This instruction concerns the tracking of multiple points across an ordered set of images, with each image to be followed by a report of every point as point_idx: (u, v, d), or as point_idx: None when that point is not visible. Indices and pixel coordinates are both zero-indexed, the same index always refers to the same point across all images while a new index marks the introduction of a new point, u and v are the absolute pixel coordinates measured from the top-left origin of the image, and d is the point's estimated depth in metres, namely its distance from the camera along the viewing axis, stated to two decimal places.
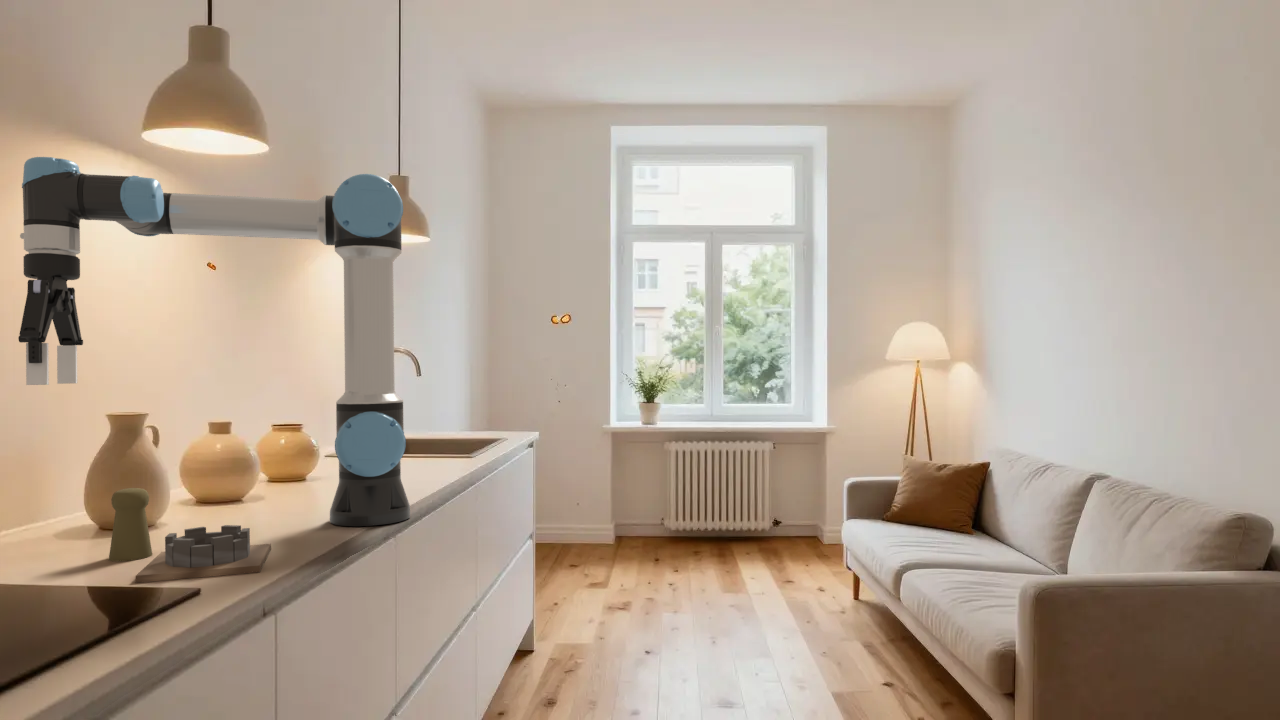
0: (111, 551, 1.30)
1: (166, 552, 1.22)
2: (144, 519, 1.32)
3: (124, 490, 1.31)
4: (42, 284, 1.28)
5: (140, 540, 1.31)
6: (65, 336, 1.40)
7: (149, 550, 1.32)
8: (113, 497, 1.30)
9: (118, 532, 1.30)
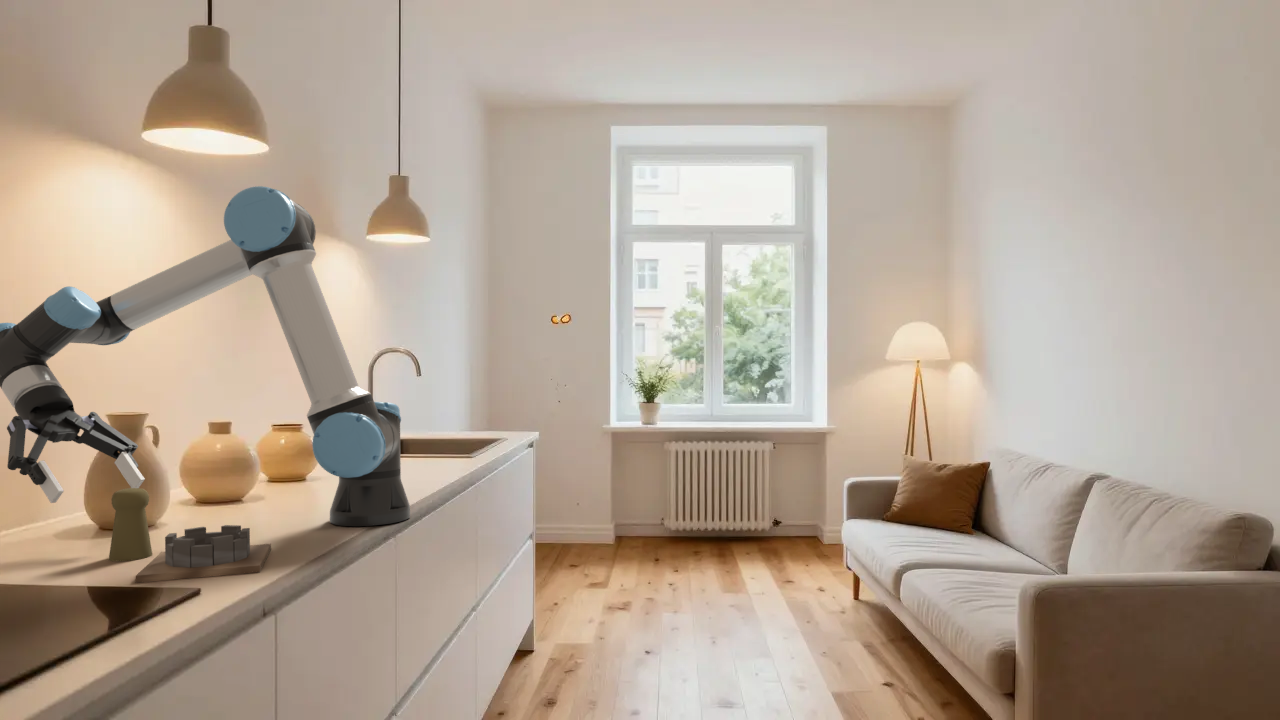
0: (111, 551, 1.30)
1: (166, 552, 1.22)
2: (144, 519, 1.32)
3: (124, 490, 1.31)
4: (13, 421, 1.31)
5: (140, 540, 1.31)
6: (112, 451, 1.42)
7: (149, 550, 1.32)
8: (113, 497, 1.30)
9: (118, 532, 1.30)
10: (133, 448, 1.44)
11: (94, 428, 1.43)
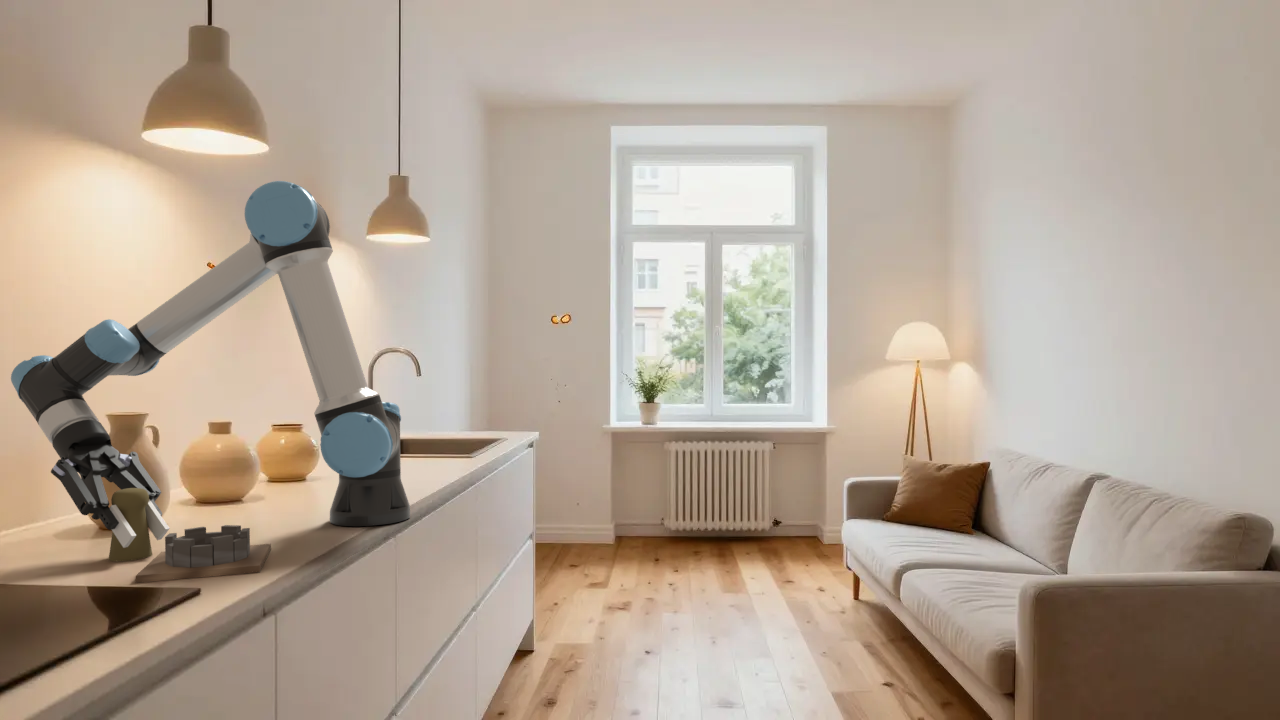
0: (111, 551, 1.30)
1: (166, 552, 1.22)
2: (144, 519, 1.32)
3: (124, 490, 1.31)
4: (59, 466, 1.29)
5: (140, 540, 1.31)
6: None
7: (149, 550, 1.32)
8: (113, 497, 1.30)
9: None
10: None
11: (129, 468, 1.39)
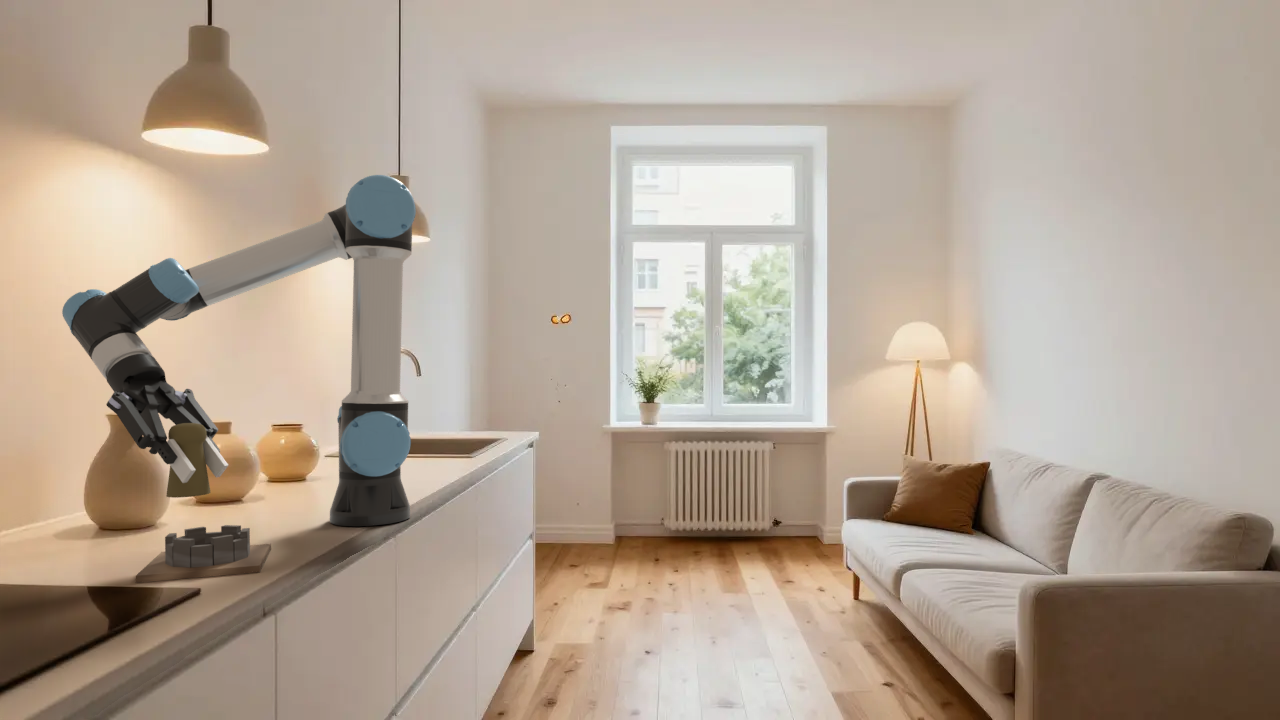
0: (169, 487, 1.24)
1: (166, 552, 1.22)
2: (202, 455, 1.27)
3: (181, 424, 1.25)
4: (114, 398, 1.23)
5: (199, 476, 1.25)
6: None
7: (207, 487, 1.27)
8: (170, 431, 1.25)
9: None
10: None
11: (184, 405, 1.34)
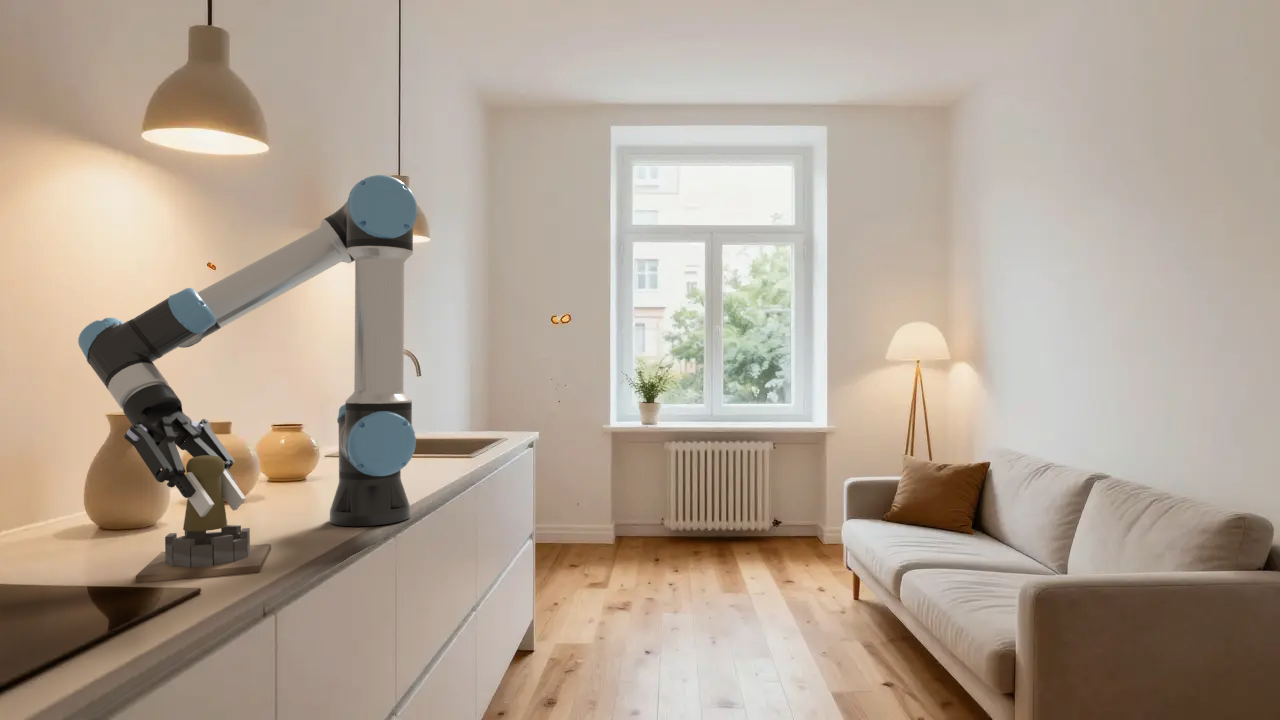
0: (186, 521, 1.23)
1: (166, 552, 1.22)
2: (220, 488, 1.26)
3: (200, 457, 1.25)
4: (133, 430, 1.22)
5: (216, 510, 1.25)
6: None
7: (225, 520, 1.26)
8: (189, 464, 1.24)
9: None
10: None
11: (200, 436, 1.33)
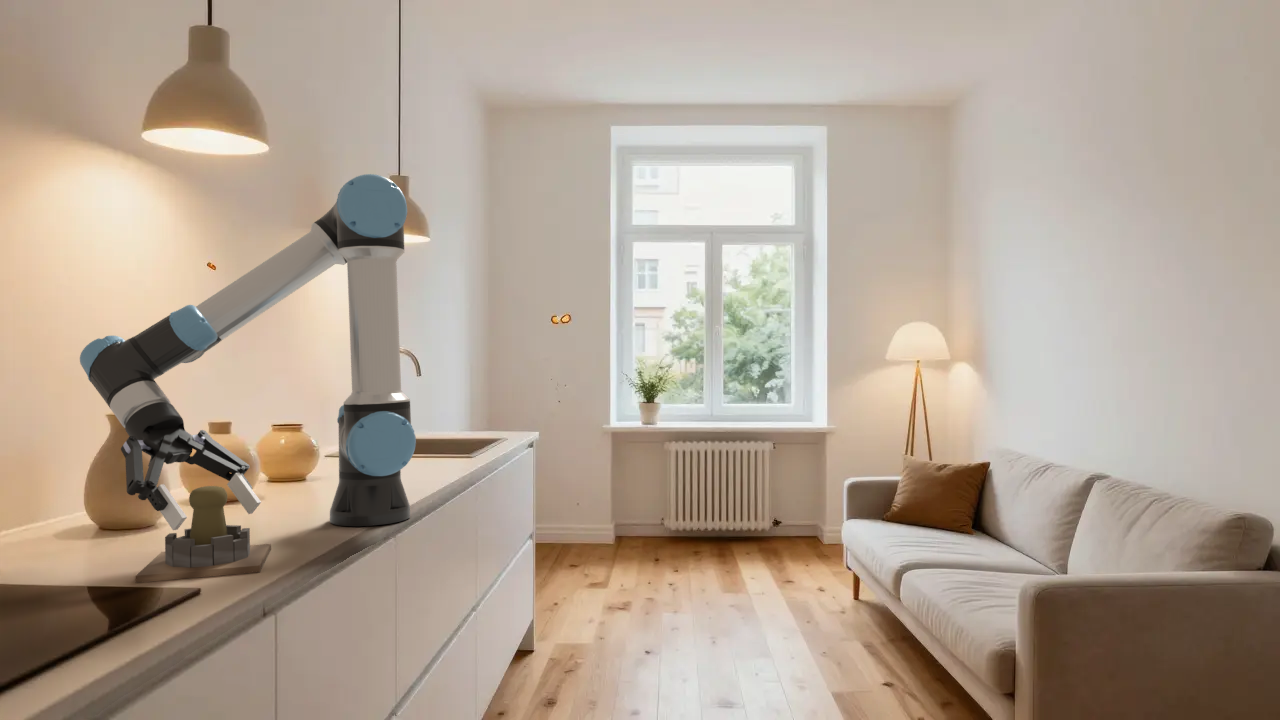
0: None
1: (166, 552, 1.22)
2: (223, 518, 1.26)
3: (202, 488, 1.25)
4: (128, 442, 1.23)
5: None
6: (224, 472, 1.33)
7: None
8: (191, 495, 1.24)
9: (197, 532, 1.24)
10: (245, 468, 1.35)
11: (204, 447, 1.34)
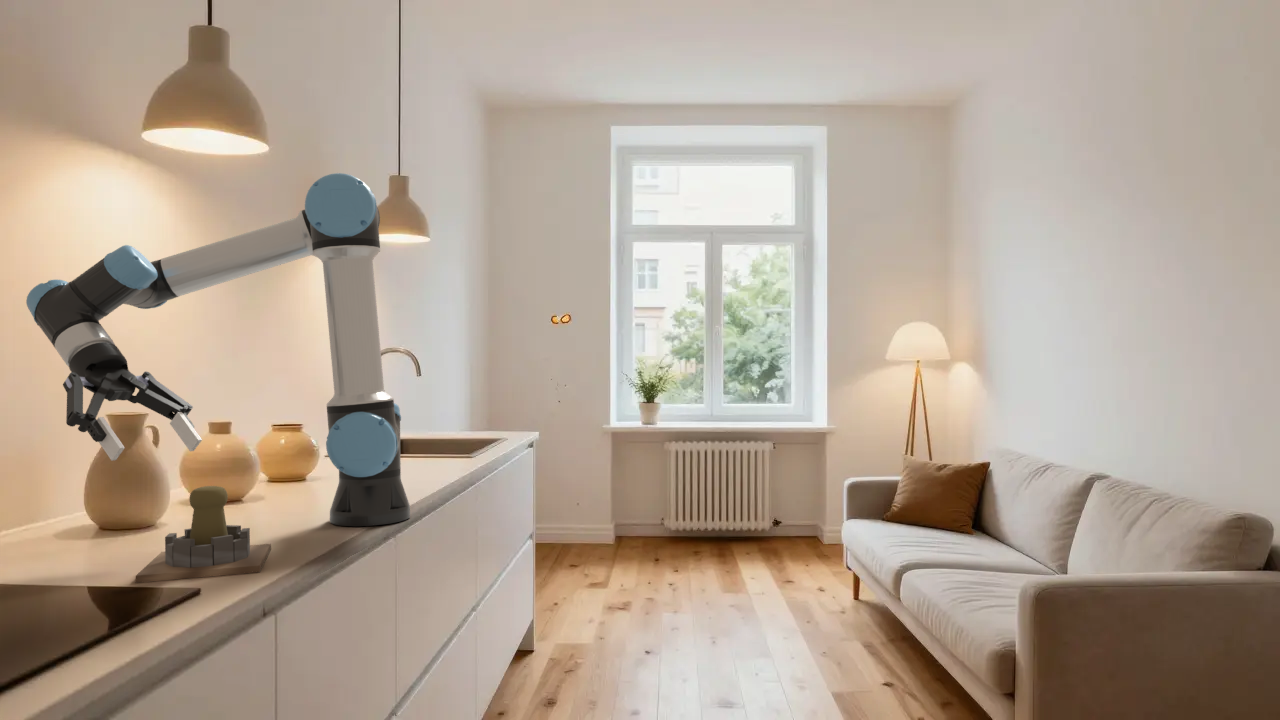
0: None
1: (166, 552, 1.22)
2: (223, 518, 1.26)
3: (203, 488, 1.25)
4: (69, 377, 1.27)
5: None
6: (167, 411, 1.38)
7: None
8: (192, 495, 1.24)
9: (197, 532, 1.24)
10: (188, 409, 1.40)
11: (148, 388, 1.39)
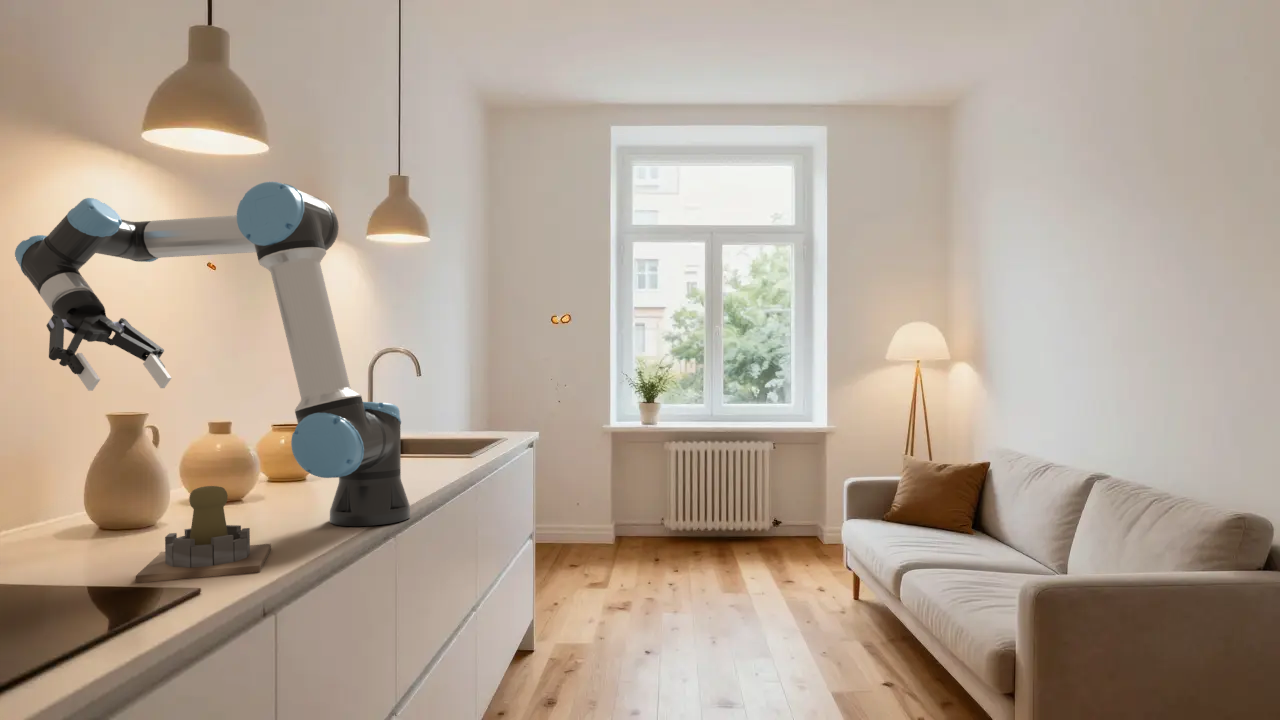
0: None
1: (166, 552, 1.22)
2: (223, 518, 1.26)
3: (203, 488, 1.25)
4: (52, 319, 1.43)
5: None
6: (141, 353, 1.54)
7: None
8: (192, 495, 1.24)
9: (197, 532, 1.24)
10: (160, 352, 1.56)
11: (124, 333, 1.55)
